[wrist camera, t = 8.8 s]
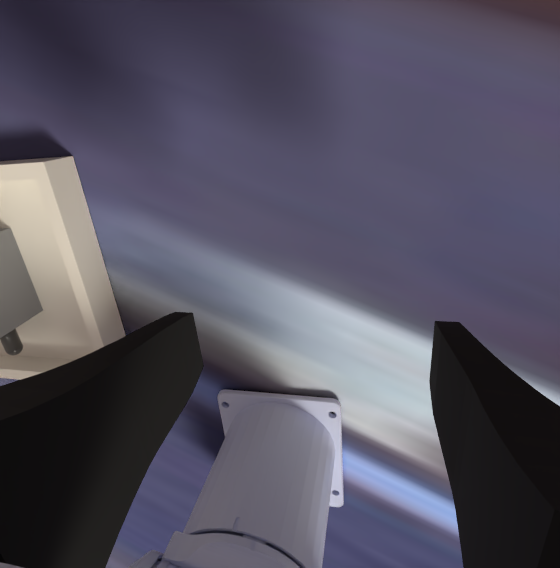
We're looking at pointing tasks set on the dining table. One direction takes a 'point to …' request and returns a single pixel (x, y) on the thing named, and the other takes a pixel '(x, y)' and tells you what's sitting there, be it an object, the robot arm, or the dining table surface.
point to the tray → (56, 266)
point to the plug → (14, 293)
